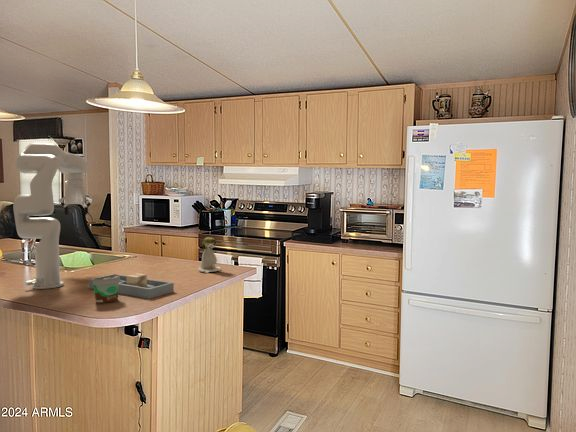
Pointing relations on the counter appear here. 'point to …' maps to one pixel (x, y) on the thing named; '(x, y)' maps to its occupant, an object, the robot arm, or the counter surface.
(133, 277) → the maple block
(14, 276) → the counter surface
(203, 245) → the grey figurine
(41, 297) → the counter surface
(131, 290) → the tray
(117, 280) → the food container
